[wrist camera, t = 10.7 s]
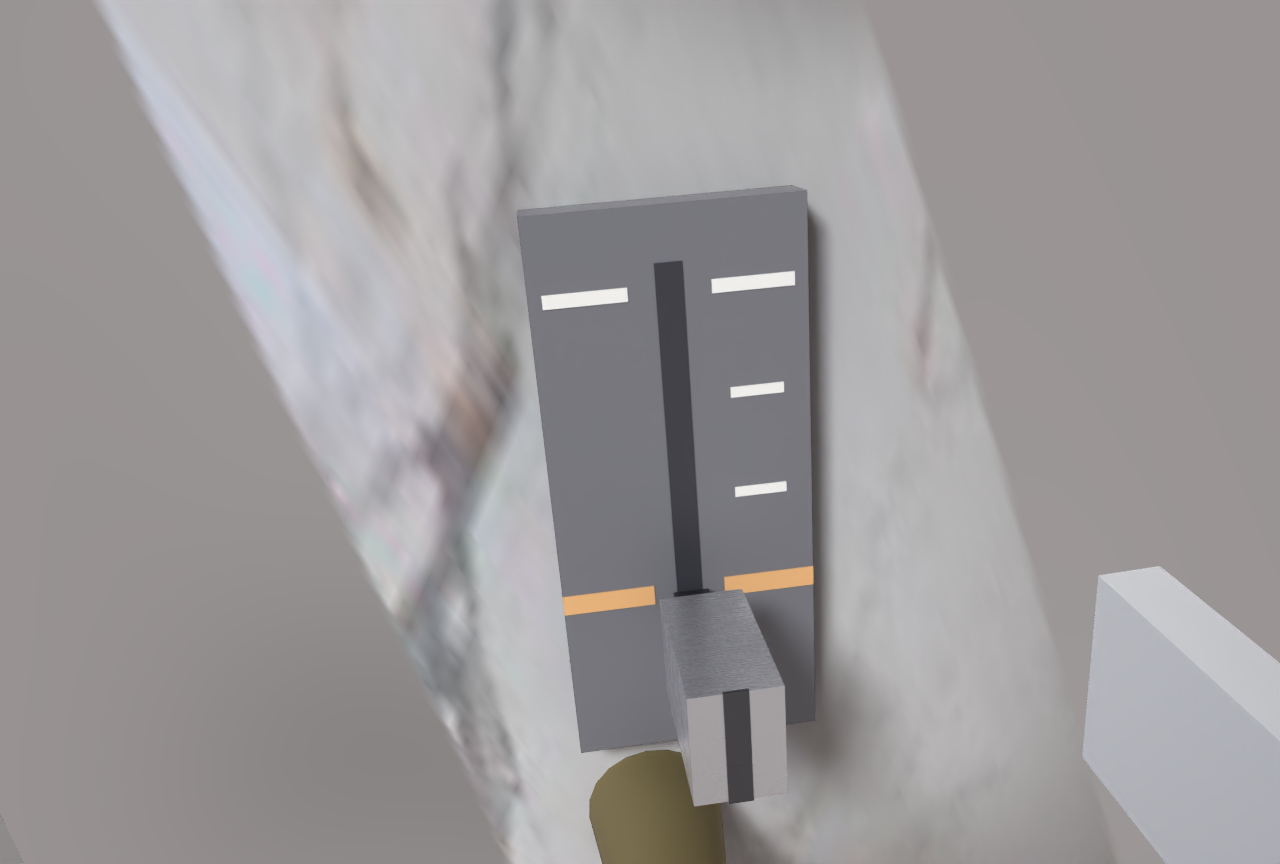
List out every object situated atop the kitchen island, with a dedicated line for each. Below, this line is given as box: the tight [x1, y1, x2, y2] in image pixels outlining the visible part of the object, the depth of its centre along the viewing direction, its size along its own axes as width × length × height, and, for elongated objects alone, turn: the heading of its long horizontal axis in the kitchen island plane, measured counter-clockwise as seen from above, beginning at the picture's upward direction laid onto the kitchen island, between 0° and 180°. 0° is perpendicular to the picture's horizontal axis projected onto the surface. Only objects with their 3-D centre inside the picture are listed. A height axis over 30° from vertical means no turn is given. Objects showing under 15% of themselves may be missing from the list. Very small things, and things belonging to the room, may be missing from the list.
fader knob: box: [660, 588, 788, 807], centre depth 33 cm, size 4×3×9 cm
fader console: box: [517, 185, 815, 753], centre depth 37 cm, size 22×10×2 cm, turn 4°
